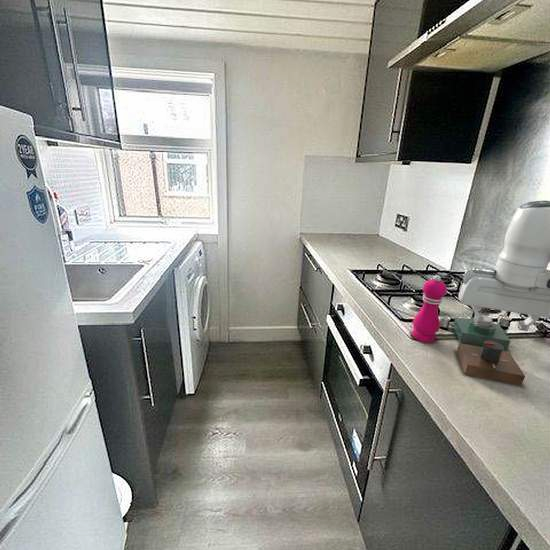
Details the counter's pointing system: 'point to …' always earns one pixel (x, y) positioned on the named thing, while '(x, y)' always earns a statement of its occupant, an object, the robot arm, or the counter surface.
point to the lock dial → (492, 351)
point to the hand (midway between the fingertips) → (499, 325)
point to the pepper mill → (429, 311)
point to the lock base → (489, 365)
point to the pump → (485, 322)
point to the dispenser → (479, 333)
